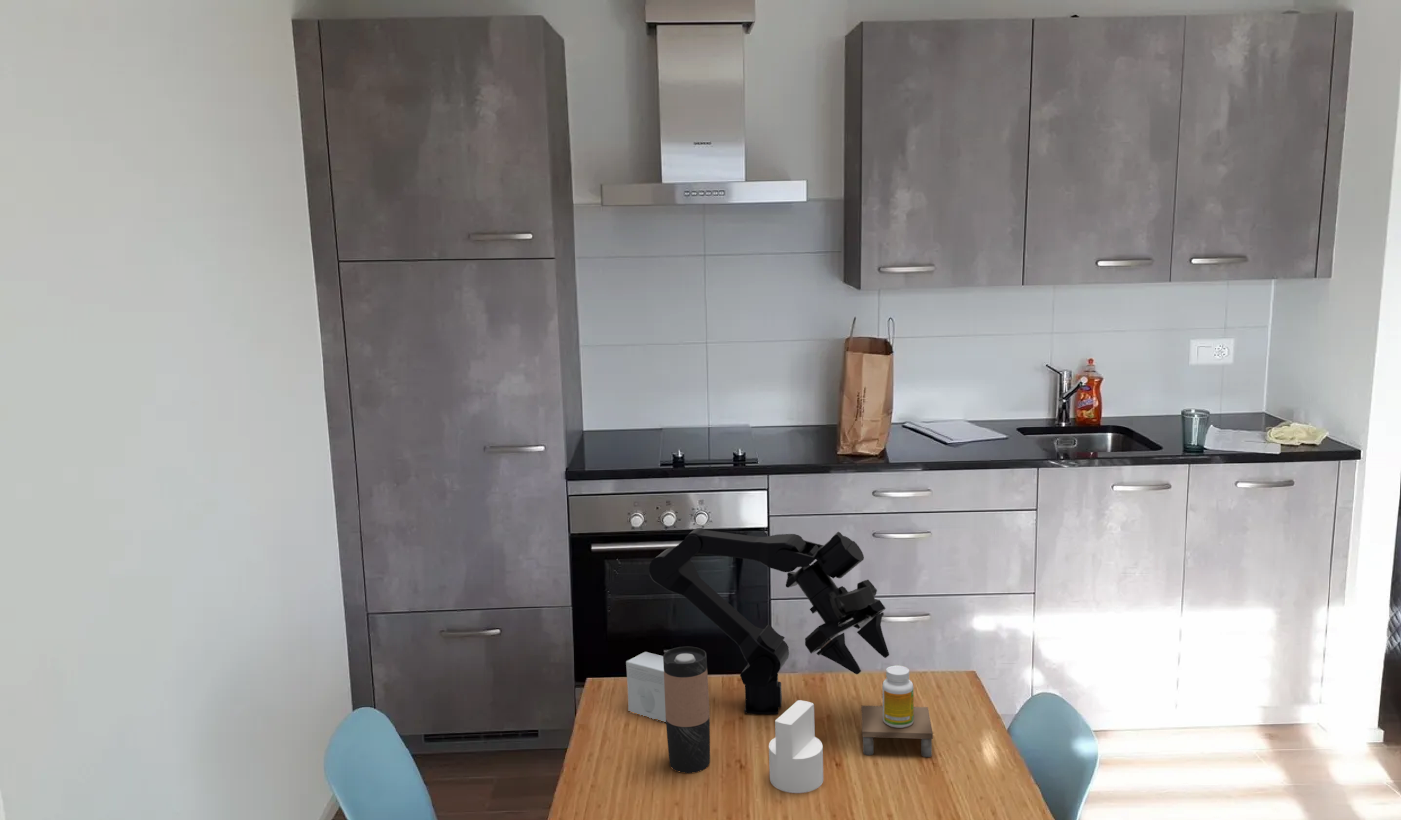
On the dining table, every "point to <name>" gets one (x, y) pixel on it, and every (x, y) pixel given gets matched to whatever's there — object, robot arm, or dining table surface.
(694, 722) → the travel mug
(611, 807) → the dining table surface
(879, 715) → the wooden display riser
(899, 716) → the supplement bottle
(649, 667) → the skincare box
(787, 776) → the base with upright slab
